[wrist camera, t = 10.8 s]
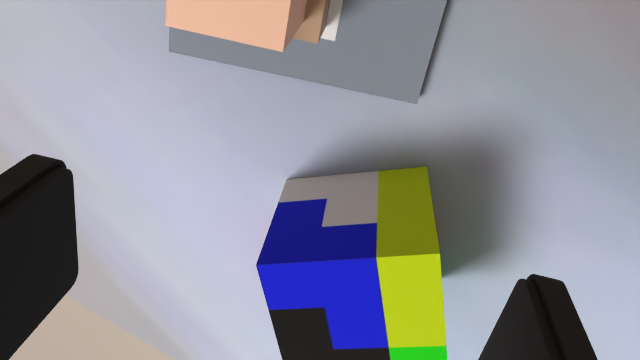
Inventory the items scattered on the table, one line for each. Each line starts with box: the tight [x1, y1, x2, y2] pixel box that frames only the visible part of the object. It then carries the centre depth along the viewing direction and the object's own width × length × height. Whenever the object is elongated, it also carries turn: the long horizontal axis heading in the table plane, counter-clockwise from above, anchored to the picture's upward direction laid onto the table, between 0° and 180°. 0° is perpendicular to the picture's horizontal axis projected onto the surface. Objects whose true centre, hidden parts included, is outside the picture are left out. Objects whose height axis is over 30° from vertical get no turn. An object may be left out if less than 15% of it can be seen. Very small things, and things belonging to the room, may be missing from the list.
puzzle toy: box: [256, 166, 447, 360], centre depth 34 cm, size 10×10×10 cm
